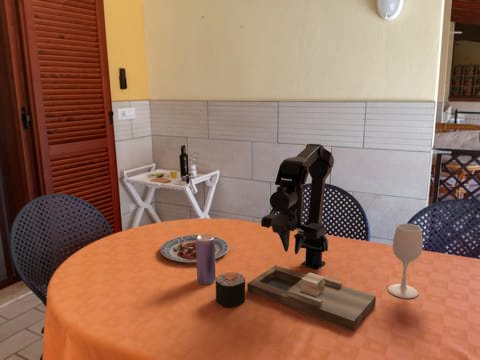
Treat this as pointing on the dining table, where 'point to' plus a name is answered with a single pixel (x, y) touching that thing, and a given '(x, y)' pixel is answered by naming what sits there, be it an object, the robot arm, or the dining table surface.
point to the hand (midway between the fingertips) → (291, 252)
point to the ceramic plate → (189, 248)
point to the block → (312, 284)
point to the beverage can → (205, 259)
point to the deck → (314, 297)
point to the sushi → (230, 289)
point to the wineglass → (406, 256)
